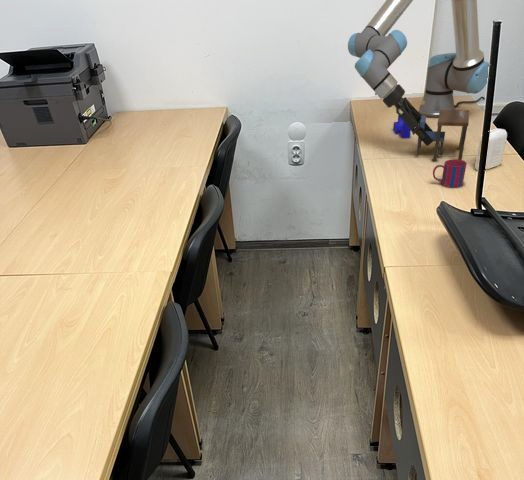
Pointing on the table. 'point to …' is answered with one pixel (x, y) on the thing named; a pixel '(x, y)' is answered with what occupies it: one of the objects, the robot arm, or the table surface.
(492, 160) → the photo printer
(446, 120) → the desk
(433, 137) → the chair
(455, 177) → the mug
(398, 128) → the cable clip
